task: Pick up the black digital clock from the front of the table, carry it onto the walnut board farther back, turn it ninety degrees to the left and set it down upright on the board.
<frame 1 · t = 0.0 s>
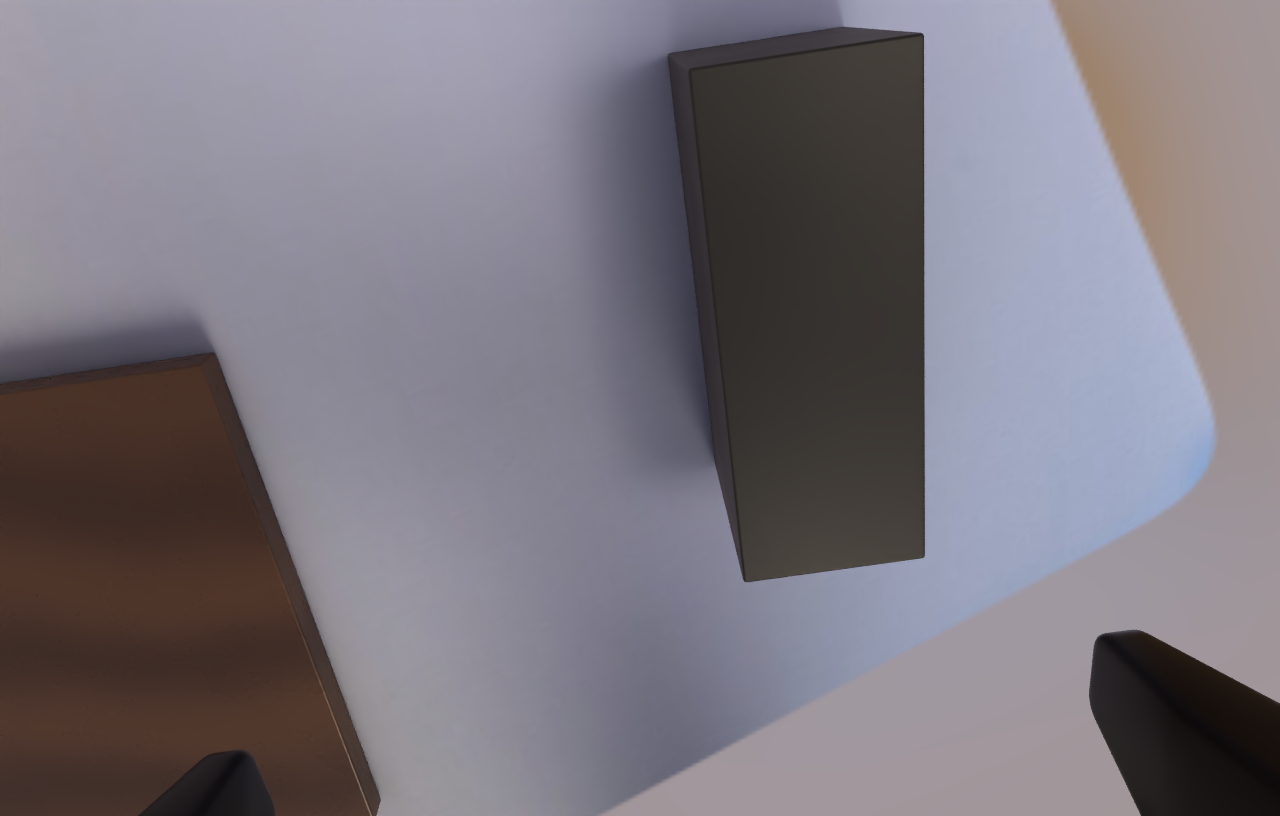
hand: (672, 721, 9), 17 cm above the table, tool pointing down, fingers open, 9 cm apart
clock: (773, 270, 24), on the table
walnut board: (13, 646, 29), on the table
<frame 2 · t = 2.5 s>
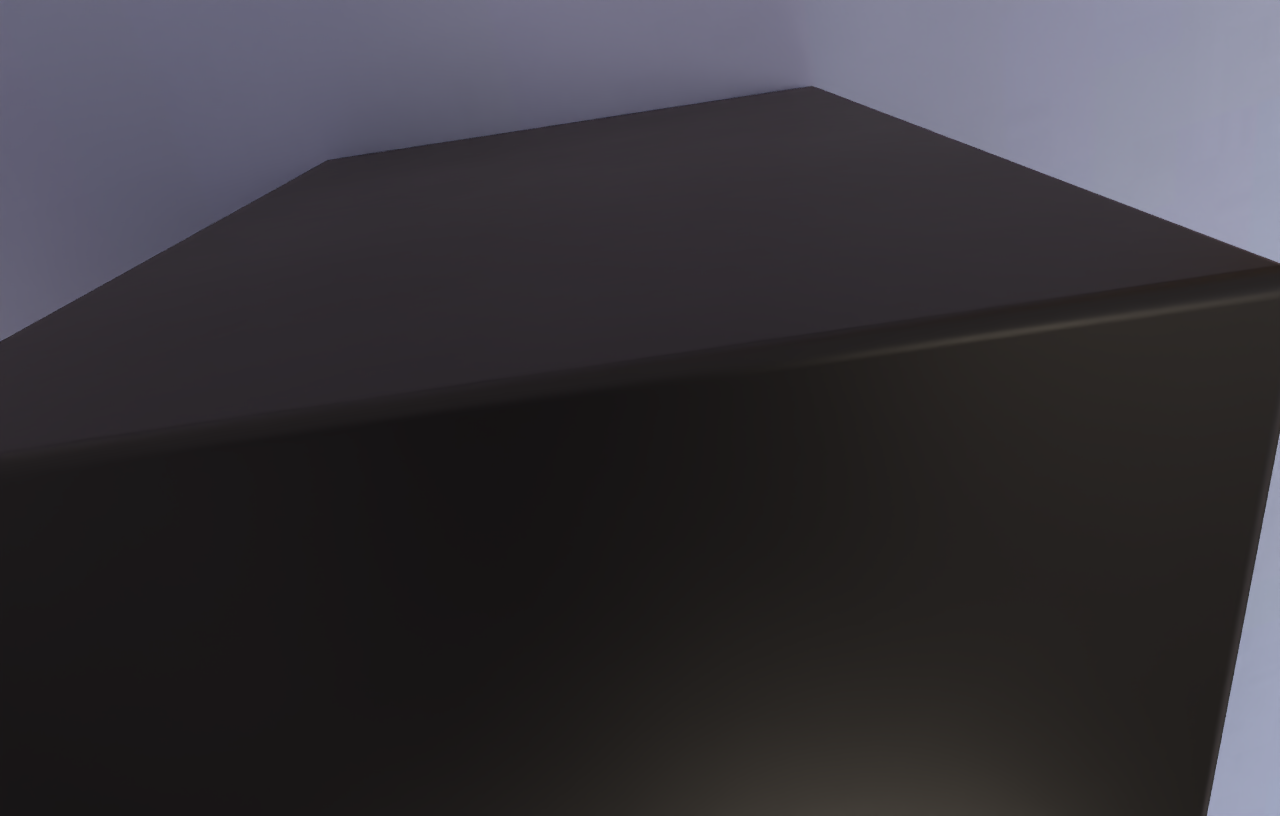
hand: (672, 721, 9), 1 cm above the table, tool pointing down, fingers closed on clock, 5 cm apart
clock: (656, 645, 10), on the table, touching gripper
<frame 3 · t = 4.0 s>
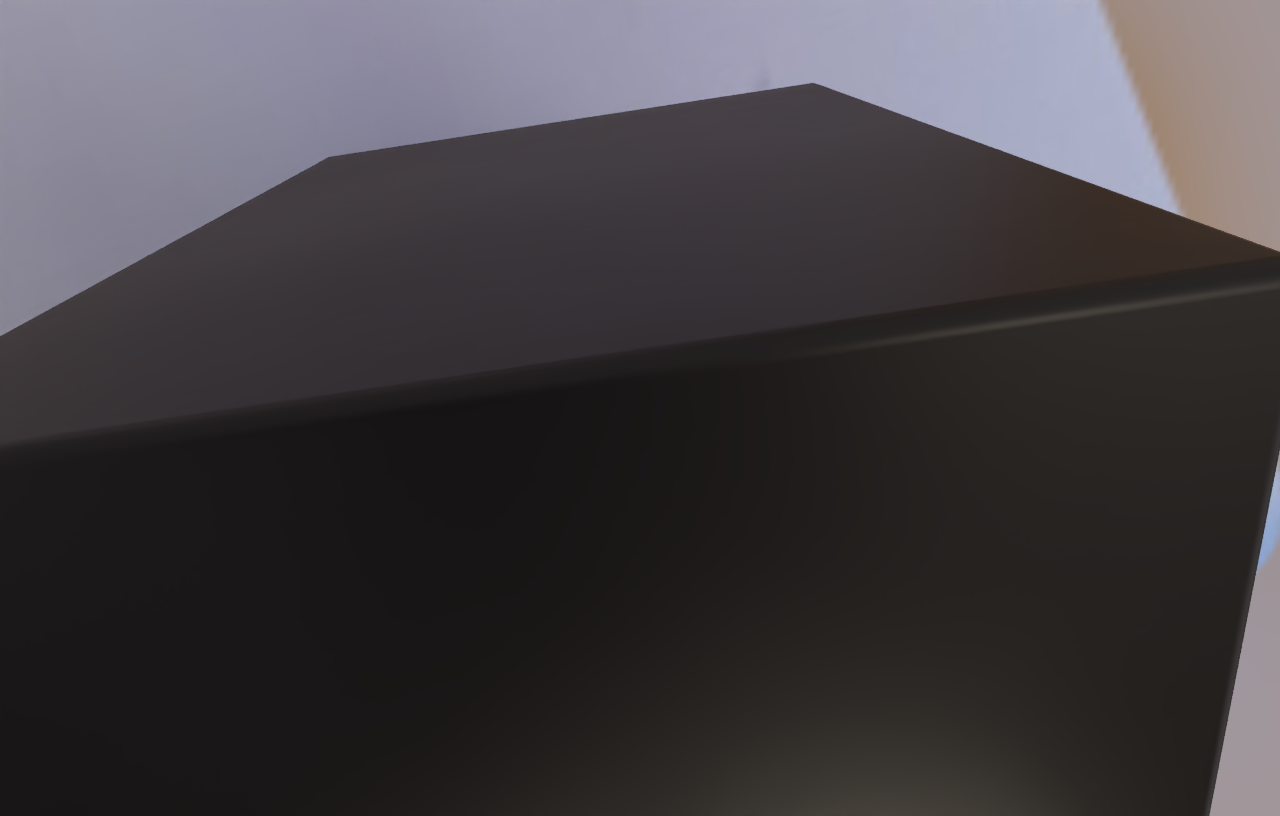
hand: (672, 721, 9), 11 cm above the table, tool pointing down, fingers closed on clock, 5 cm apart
clock: (657, 643, 10), point 9 cm above the table, touching gripper
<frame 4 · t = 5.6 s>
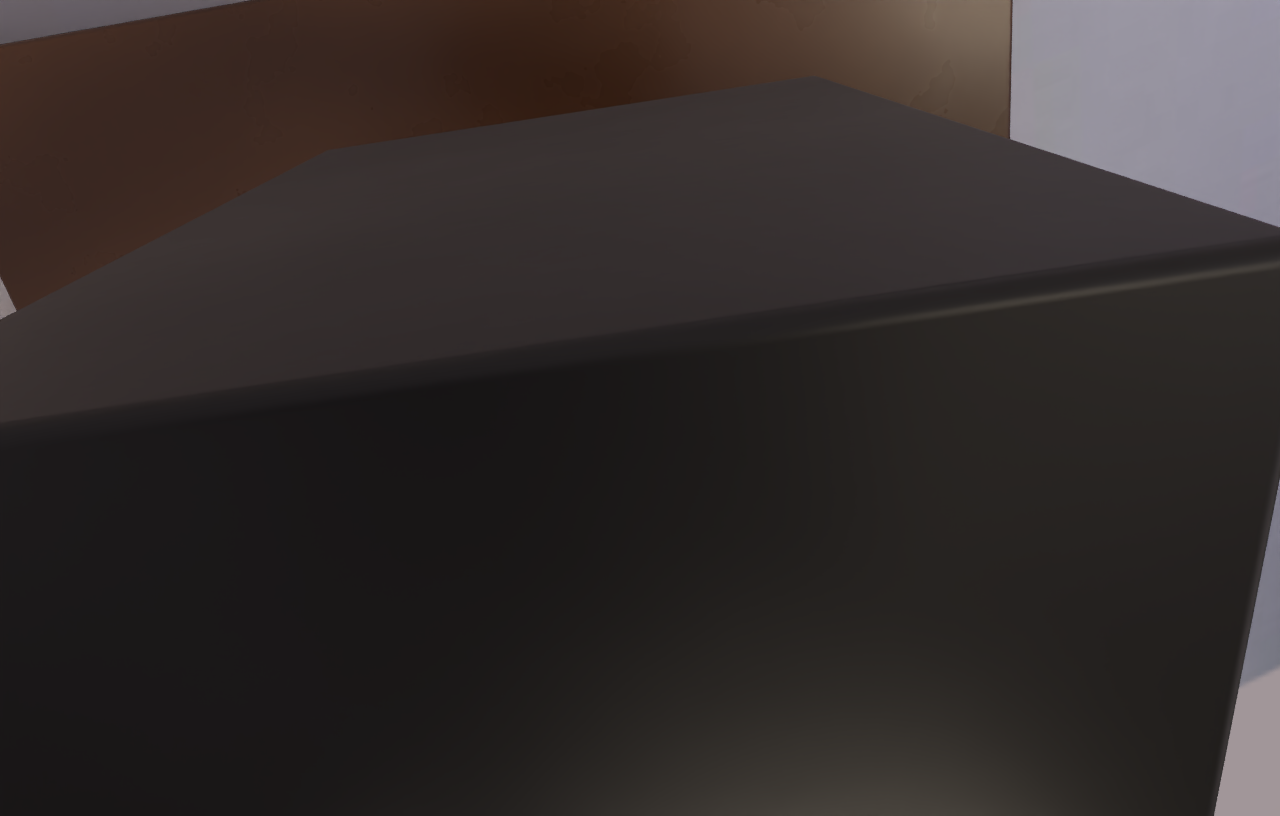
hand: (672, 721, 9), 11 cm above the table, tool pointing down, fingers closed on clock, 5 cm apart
clock: (657, 639, 10), point 10 cm above the table, touching gripper
walnut board: (549, 404, 20), on the table
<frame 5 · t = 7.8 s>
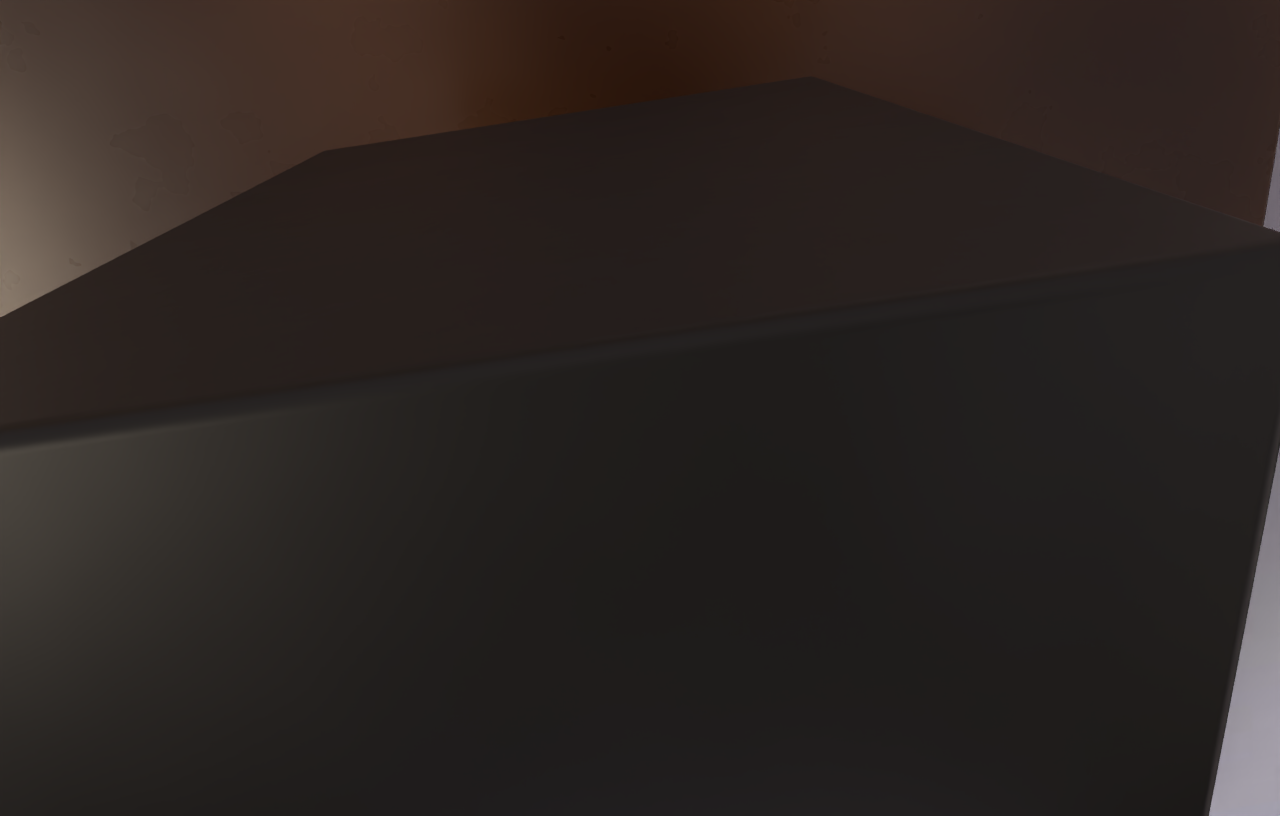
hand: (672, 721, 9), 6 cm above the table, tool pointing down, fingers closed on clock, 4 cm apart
clock: (655, 640, 10), point 5 cm above the table, touching gripper
walnut board: (651, 456, 14), on the table
when the fingers open (2 cm above the table, at t = 9.2 s): clock stays where it is, resting on walnut board.
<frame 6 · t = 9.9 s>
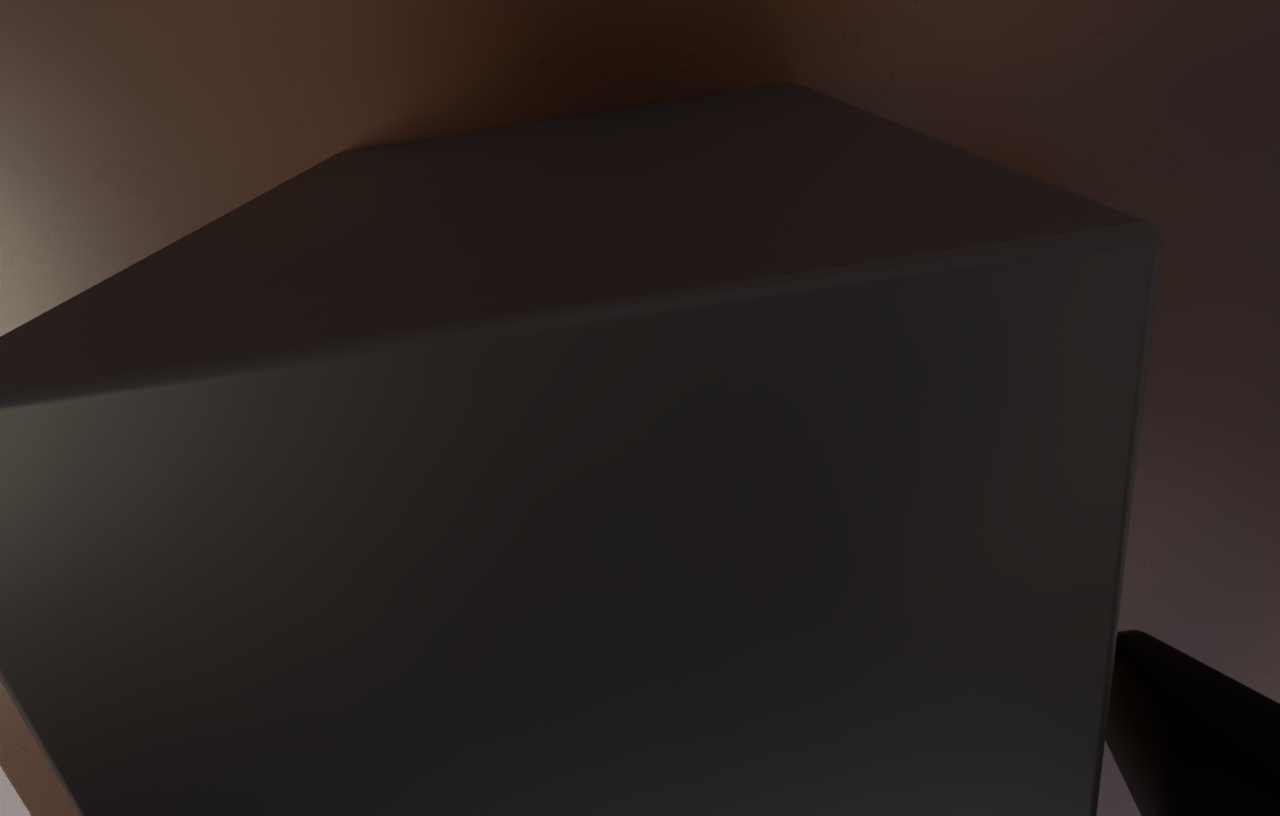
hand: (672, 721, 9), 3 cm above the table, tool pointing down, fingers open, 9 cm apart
clock: (650, 615, 11), point 1 cm above the table, touching walnut board
walnut board: (658, 569, 12), on the table
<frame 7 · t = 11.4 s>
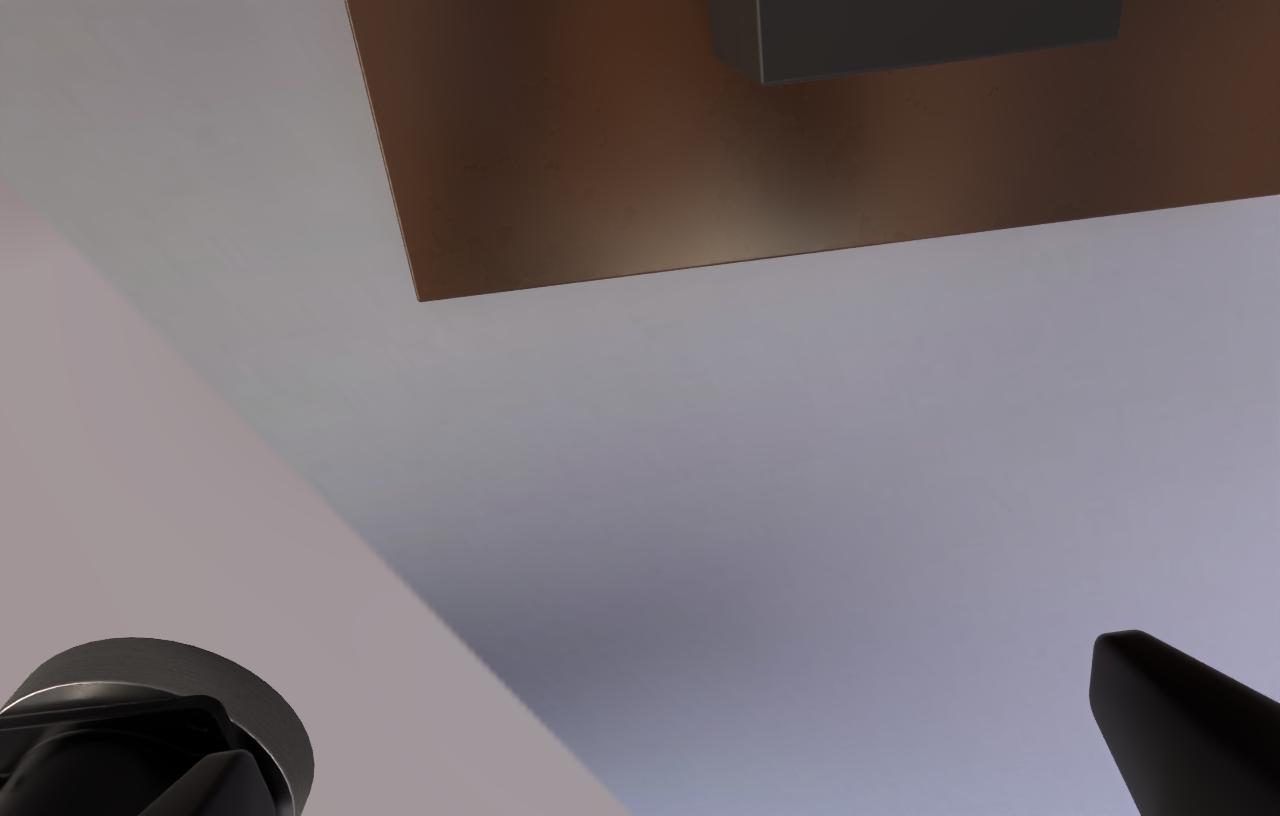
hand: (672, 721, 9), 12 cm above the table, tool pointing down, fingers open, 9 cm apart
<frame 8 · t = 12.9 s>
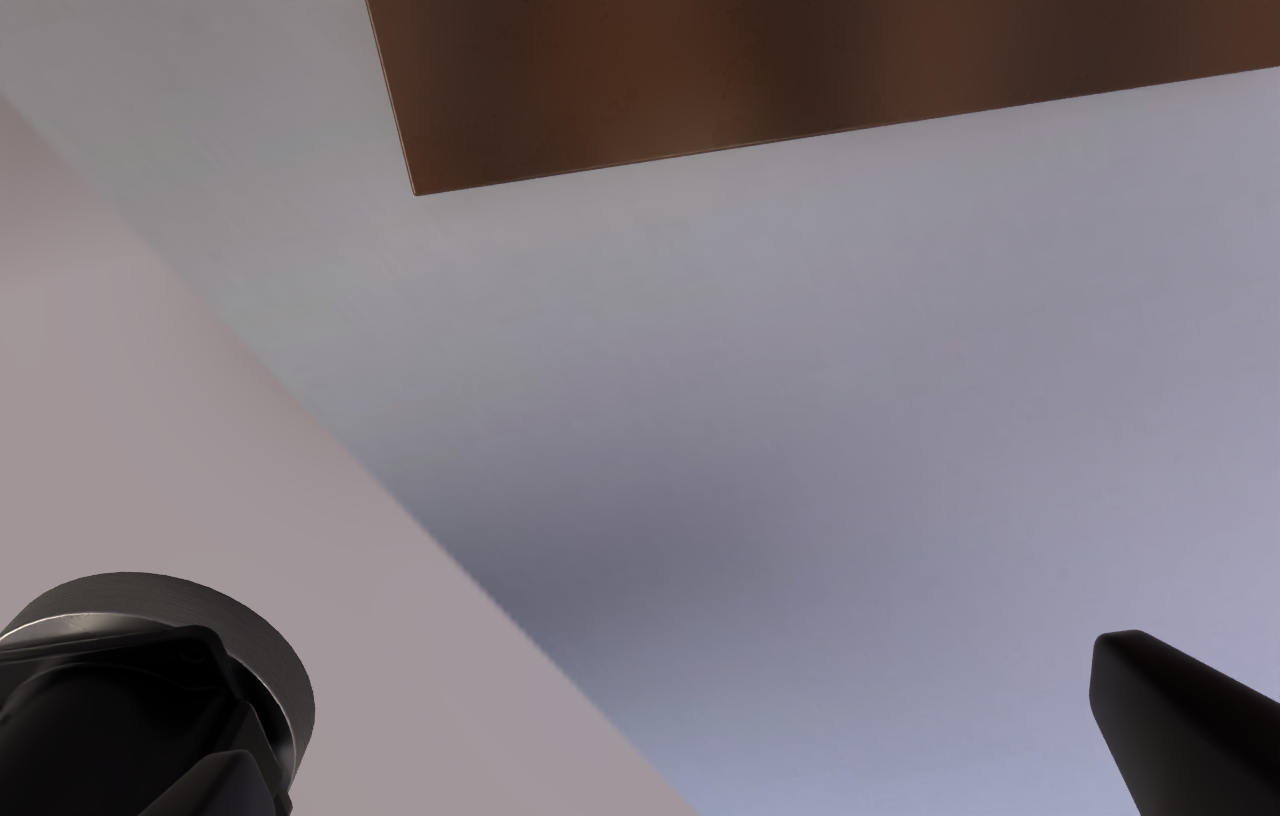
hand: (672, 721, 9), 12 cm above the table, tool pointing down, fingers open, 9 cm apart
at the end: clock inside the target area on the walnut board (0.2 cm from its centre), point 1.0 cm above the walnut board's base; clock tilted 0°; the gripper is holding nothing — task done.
